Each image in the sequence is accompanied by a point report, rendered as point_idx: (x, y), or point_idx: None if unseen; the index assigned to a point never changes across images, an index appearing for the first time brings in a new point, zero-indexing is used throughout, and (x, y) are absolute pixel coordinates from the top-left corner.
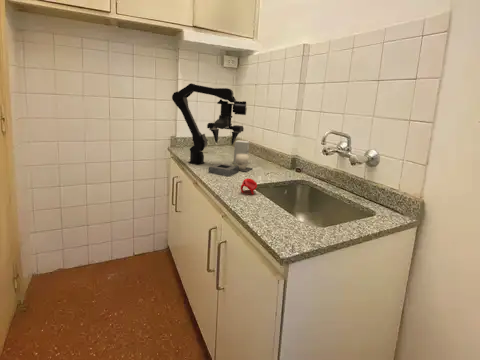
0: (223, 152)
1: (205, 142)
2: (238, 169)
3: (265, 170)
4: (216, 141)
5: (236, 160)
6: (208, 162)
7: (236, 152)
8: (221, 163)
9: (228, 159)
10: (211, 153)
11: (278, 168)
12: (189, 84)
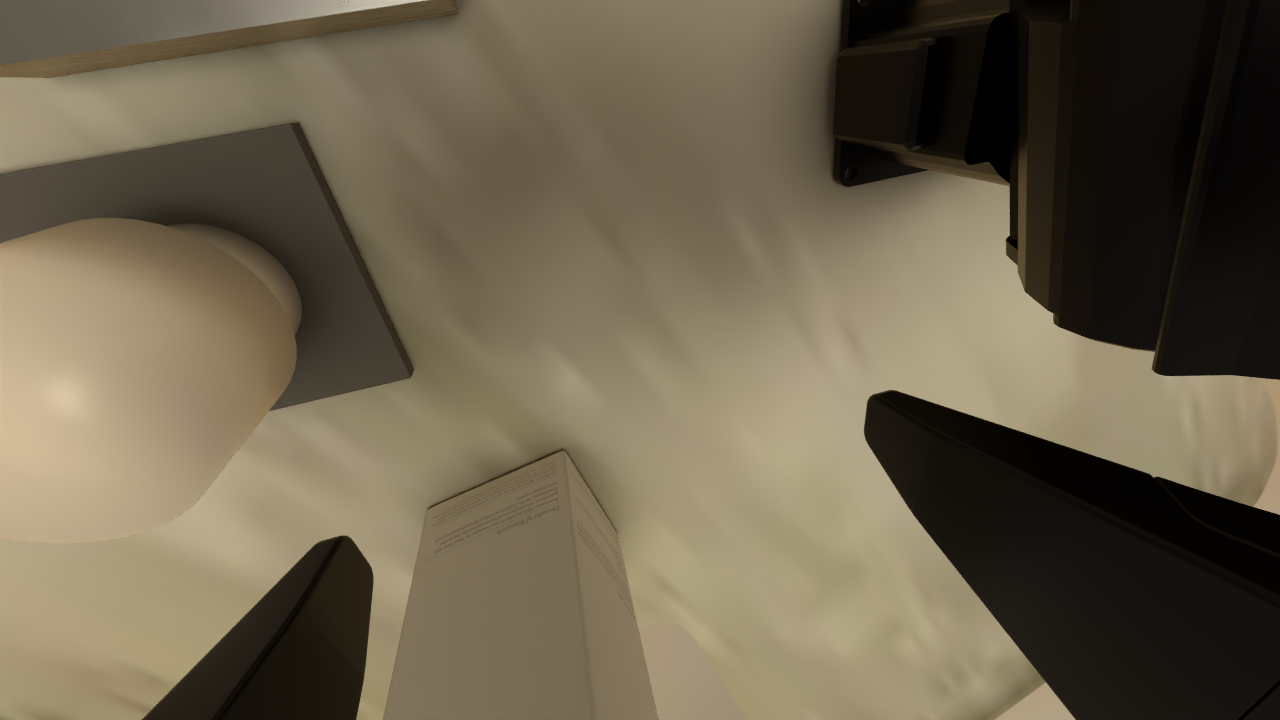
0: (879, 644)
1: (1161, 170)
2: (157, 189)
3: None
4: (889, 413)
5: (156, 251)
6: (807, 257)
7: (540, 579)
8: (382, 5)
9: (719, 532)
10: (945, 558)
11: (93, 672)
12: None
